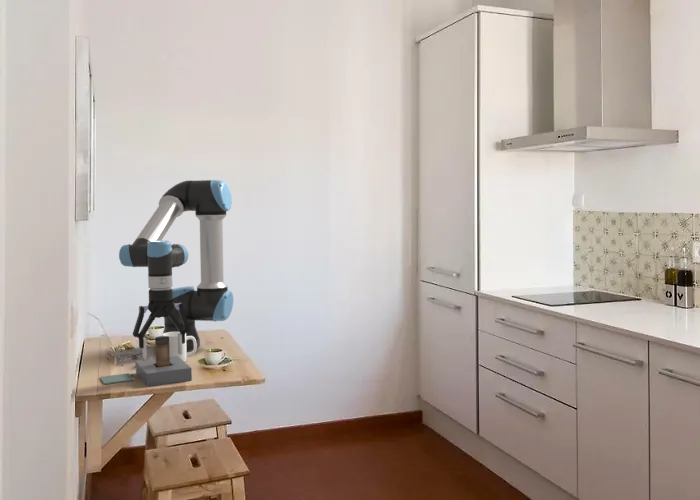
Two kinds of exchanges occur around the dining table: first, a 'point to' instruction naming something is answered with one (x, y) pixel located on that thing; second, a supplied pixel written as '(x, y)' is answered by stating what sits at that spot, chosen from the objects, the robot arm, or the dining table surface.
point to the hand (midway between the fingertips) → (162, 355)
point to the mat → (116, 378)
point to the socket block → (163, 372)
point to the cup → (174, 345)
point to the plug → (162, 351)
